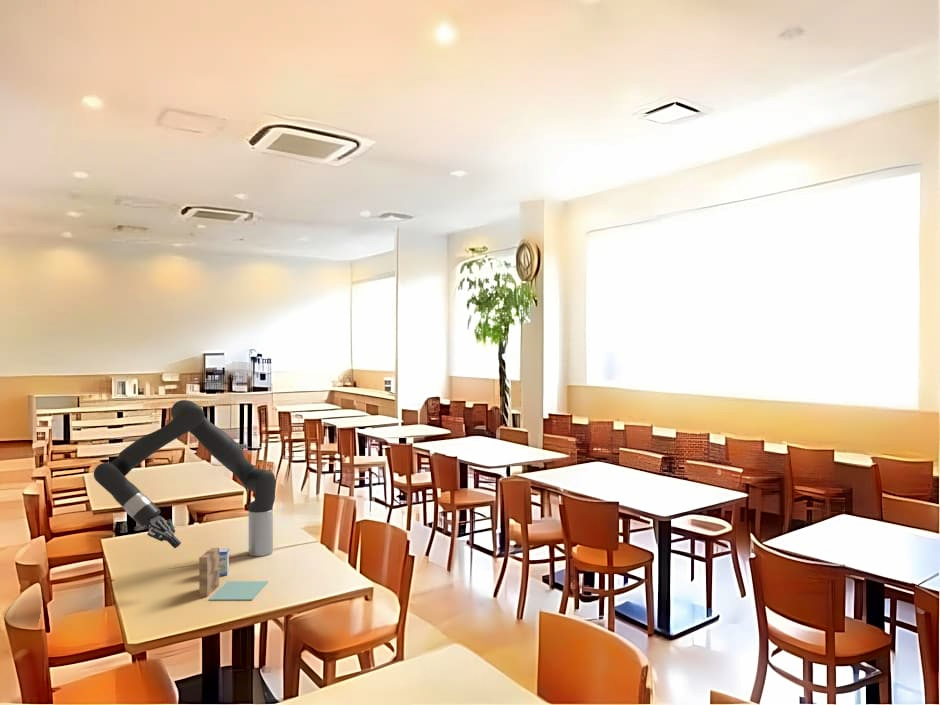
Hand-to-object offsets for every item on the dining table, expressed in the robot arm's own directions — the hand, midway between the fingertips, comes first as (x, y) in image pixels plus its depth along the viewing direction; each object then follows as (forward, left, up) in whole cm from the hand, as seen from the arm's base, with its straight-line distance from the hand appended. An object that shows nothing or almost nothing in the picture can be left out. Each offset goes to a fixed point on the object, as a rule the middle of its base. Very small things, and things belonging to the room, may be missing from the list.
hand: (178, 545), depth 211 cm
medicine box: (-16, +6, -15) cm, 23 cm away
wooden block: (0, +10, -15) cm, 19 cm away
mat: (0, +20, -15) cm, 25 cm away
